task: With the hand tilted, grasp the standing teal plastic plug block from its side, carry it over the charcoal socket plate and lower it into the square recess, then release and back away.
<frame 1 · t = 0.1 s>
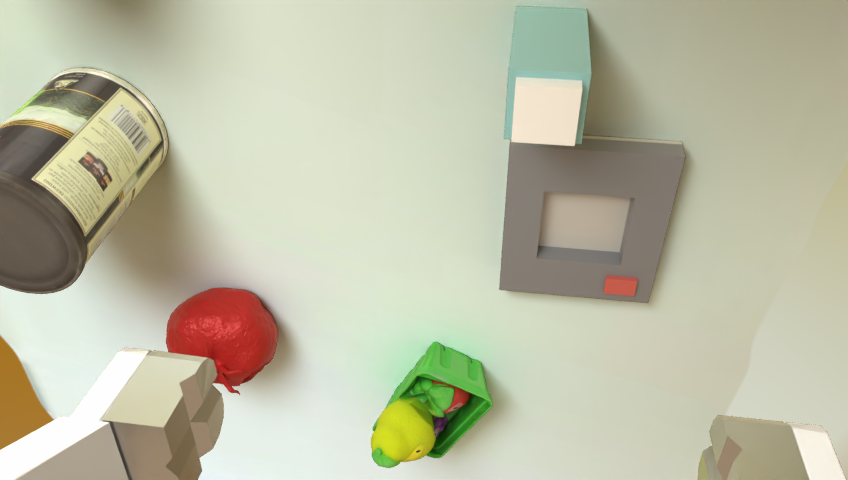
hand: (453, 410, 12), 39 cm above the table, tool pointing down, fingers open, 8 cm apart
fruit basket: (432, 372, 72), on the table
pomegranate: (236, 310, 70), on the table
plug: (548, 40, 48), on the table
socket plate: (583, 213, 57), on the table
coffee can: (107, 125, 58), on the table
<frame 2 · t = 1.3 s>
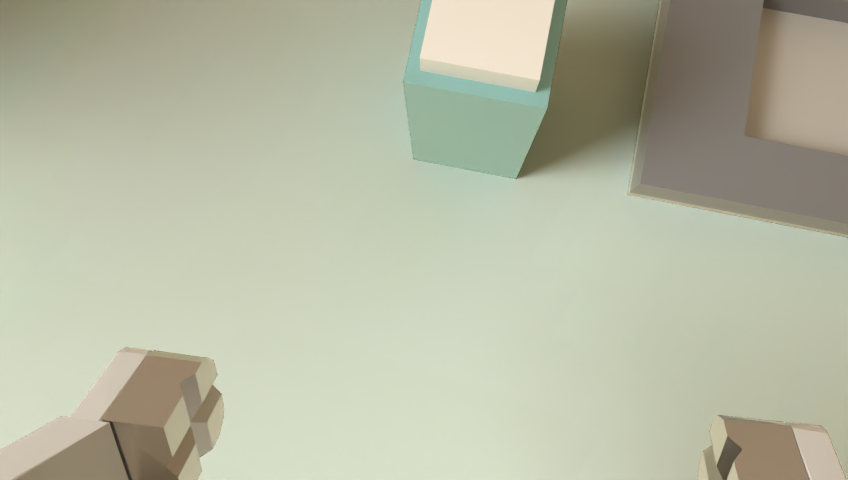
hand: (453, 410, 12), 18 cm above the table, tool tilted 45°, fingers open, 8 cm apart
plug: (474, 119, 32), on the table
socket plate: (810, 92, 31), on the table
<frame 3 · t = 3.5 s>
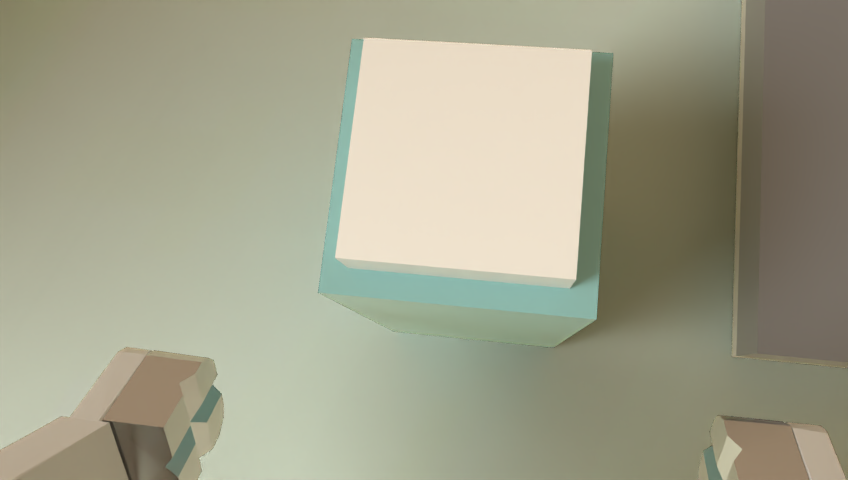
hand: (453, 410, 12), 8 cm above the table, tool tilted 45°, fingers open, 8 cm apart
plug: (479, 261, 21), on the table
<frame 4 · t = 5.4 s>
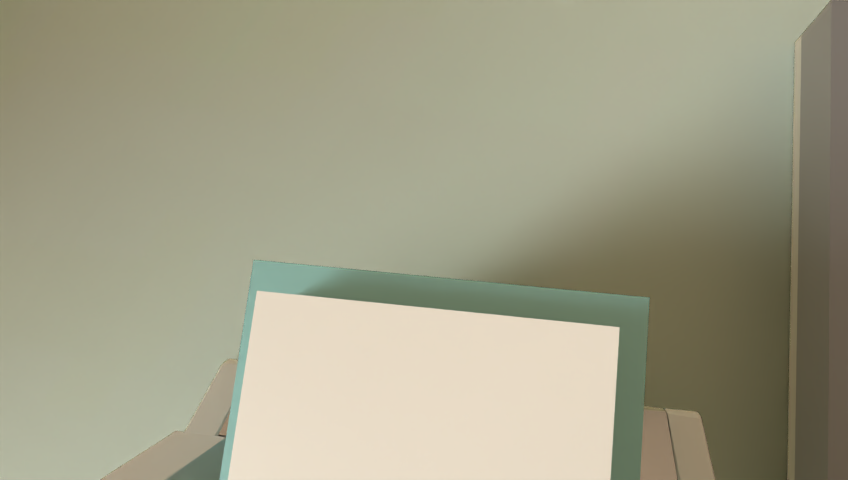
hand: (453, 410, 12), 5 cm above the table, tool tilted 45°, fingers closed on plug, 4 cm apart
plug: (464, 432, 17), on the table, touching gripper
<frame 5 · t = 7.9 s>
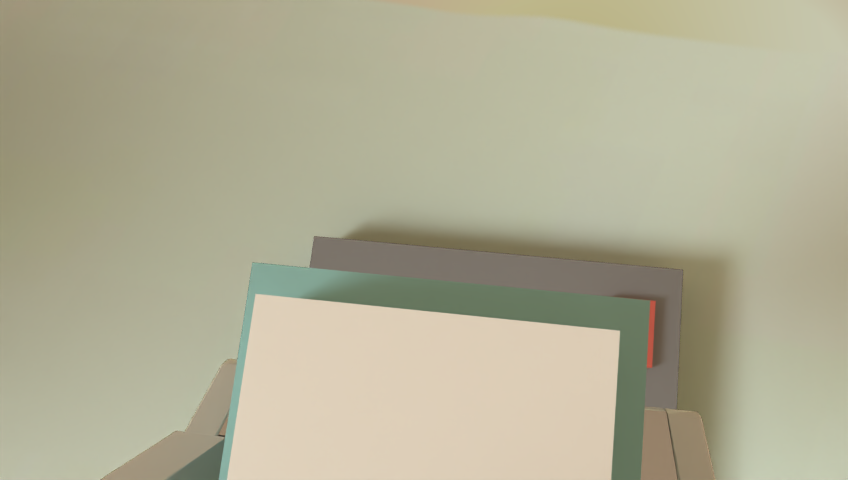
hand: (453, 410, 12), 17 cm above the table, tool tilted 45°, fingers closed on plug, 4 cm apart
plug: (464, 434, 17), point 12 cm above the table, touching gripper
socket plate: (479, 411, 28), on the table
when the fingers open (6 cm above the table, at t = 10.6 s): plug drops 1 cm, resting on socket plate.
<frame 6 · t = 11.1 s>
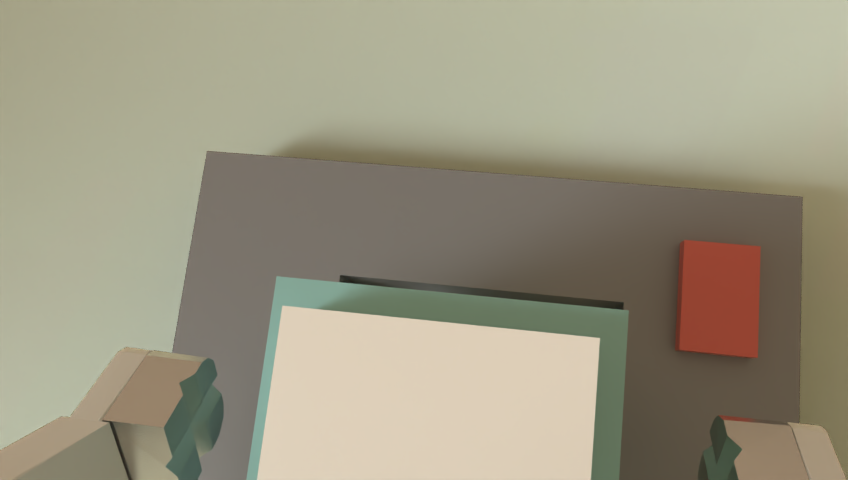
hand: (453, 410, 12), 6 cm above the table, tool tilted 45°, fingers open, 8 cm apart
plug: (464, 431, 18), resting on socket plate
socket plate: (468, 428, 18), on the table
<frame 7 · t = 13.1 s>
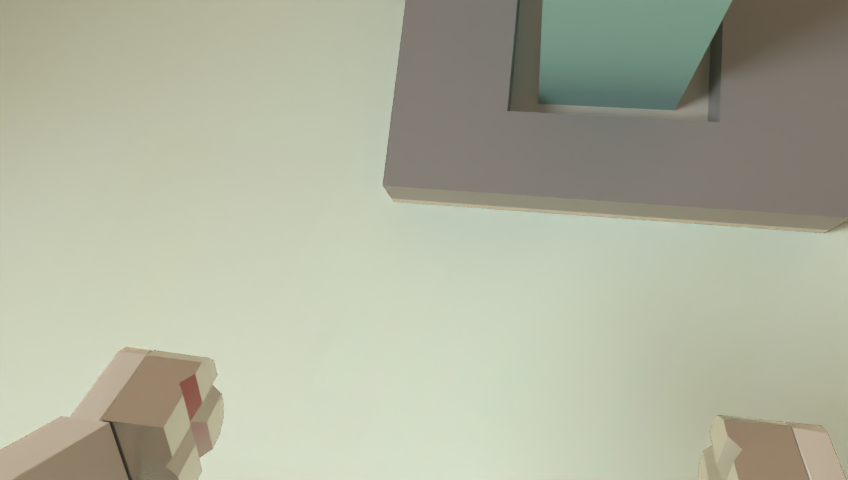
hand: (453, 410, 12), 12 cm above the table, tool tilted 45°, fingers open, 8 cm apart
plug: (609, 45, 25), resting on socket plate
socket plate: (610, 49, 25), on the table
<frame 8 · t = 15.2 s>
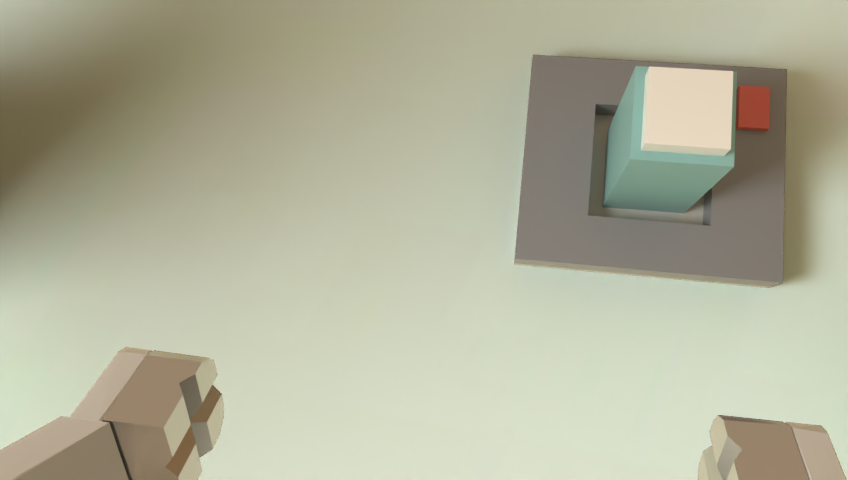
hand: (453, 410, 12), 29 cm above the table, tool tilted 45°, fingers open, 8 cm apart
plug: (644, 172, 42), resting on socket plate
socket plate: (644, 173, 42), on the table
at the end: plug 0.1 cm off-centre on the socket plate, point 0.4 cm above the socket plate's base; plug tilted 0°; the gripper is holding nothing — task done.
